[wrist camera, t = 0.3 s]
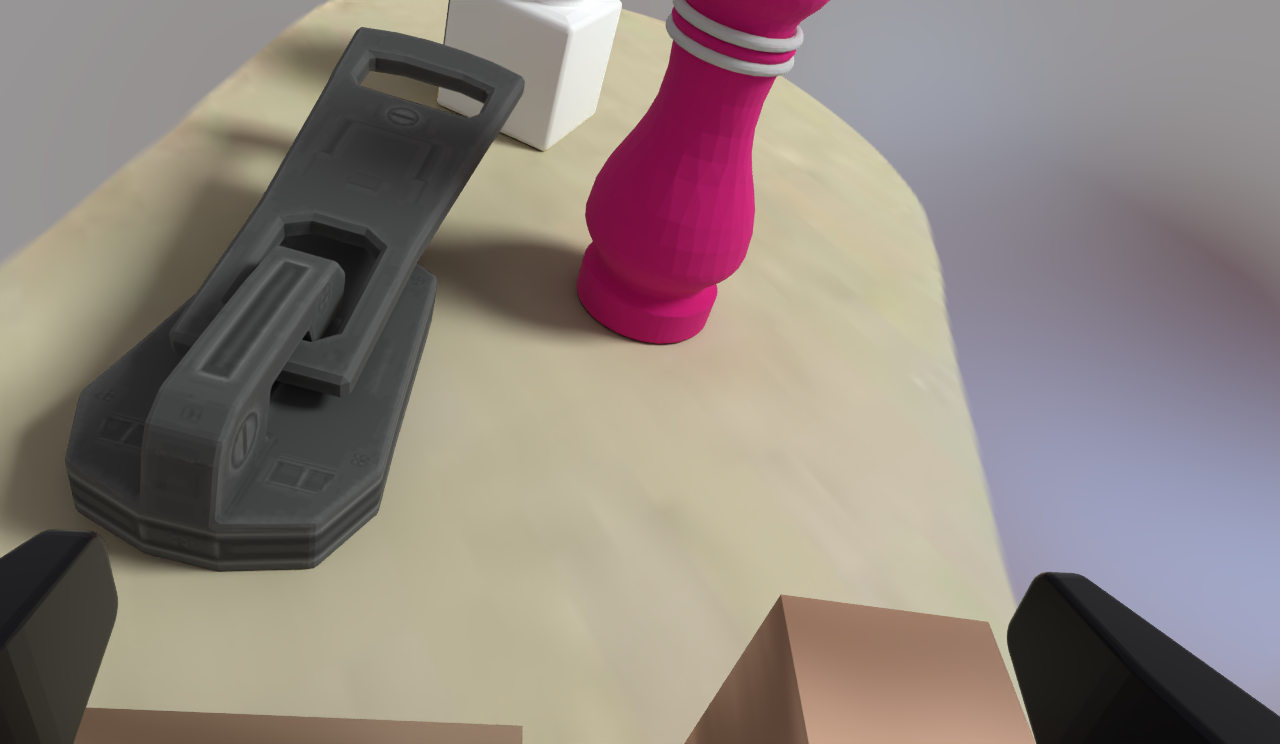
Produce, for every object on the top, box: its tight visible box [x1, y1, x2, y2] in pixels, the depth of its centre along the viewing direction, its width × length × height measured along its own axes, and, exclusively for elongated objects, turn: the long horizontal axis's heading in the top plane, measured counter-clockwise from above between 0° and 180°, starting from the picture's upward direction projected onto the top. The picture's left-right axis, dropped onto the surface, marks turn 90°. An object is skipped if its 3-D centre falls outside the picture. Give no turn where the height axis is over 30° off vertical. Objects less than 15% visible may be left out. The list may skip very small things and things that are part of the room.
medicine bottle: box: [437, 0, 622, 151], centre depth 47 cm, size 7×7×12 cm
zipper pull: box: [65, 27, 525, 571], centre depth 32 cm, size 9×7×25 cm
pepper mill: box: [577, 0, 830, 344], centre depth 34 cm, size 7×7×20 cm
